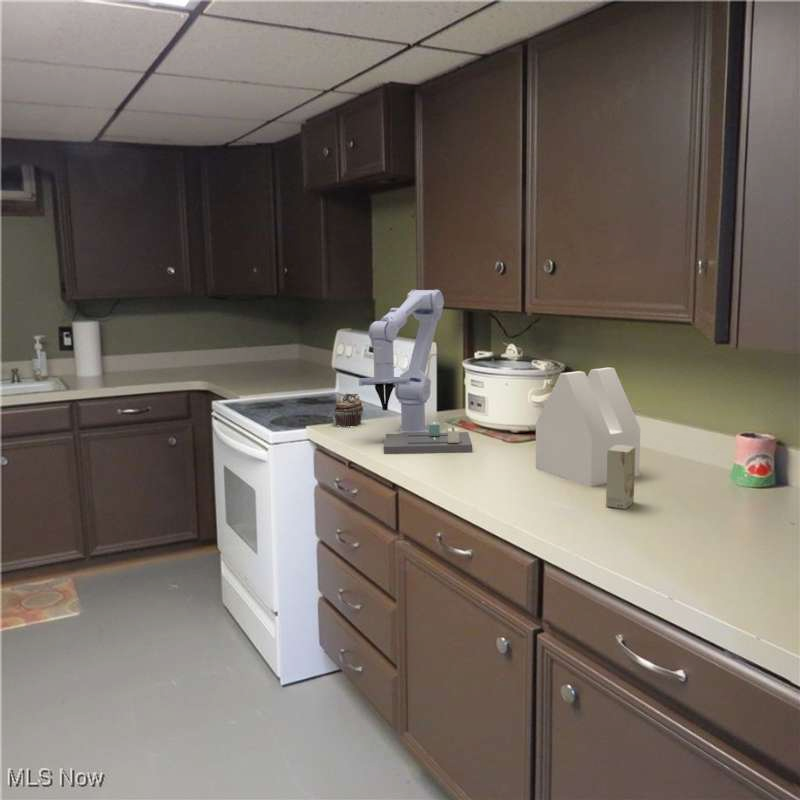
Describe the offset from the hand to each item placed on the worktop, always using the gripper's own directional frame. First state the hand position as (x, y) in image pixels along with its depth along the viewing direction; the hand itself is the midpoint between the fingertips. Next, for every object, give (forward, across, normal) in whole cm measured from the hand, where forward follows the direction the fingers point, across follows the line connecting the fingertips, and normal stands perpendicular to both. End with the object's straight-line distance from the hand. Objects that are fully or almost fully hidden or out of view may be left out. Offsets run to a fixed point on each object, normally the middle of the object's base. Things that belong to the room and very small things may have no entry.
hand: (385, 409), depth 223 cm
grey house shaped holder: (+10, +50, -37) cm, 63 cm away
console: (+9, +12, -7) cm, 17 cm away
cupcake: (+10, -13, +25) cm, 30 cm away
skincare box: (+10, +52, -62) cm, 81 cm away
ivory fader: (+7, +19, -11) cm, 23 cm away
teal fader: (+7, +14, -3) cm, 16 cm away
